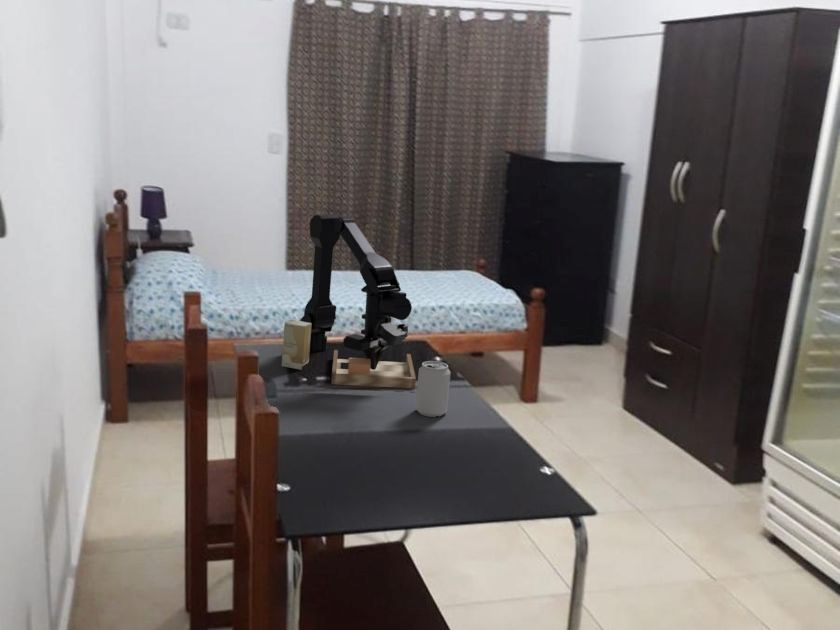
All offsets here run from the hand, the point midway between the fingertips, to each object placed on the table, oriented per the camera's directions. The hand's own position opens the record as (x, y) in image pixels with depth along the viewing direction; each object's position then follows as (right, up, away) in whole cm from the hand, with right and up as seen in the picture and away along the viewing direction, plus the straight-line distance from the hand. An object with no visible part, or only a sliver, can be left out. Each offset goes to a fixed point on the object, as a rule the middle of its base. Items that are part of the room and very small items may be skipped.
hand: (373, 369), depth 225 cm
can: (+15, -9, -22) cm, 28 cm away
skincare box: (-21, 0, +5) cm, 22 cm away
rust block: (-3, -2, -4) cm, 6 cm away
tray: (0, -2, +1) cm, 2 cm away
